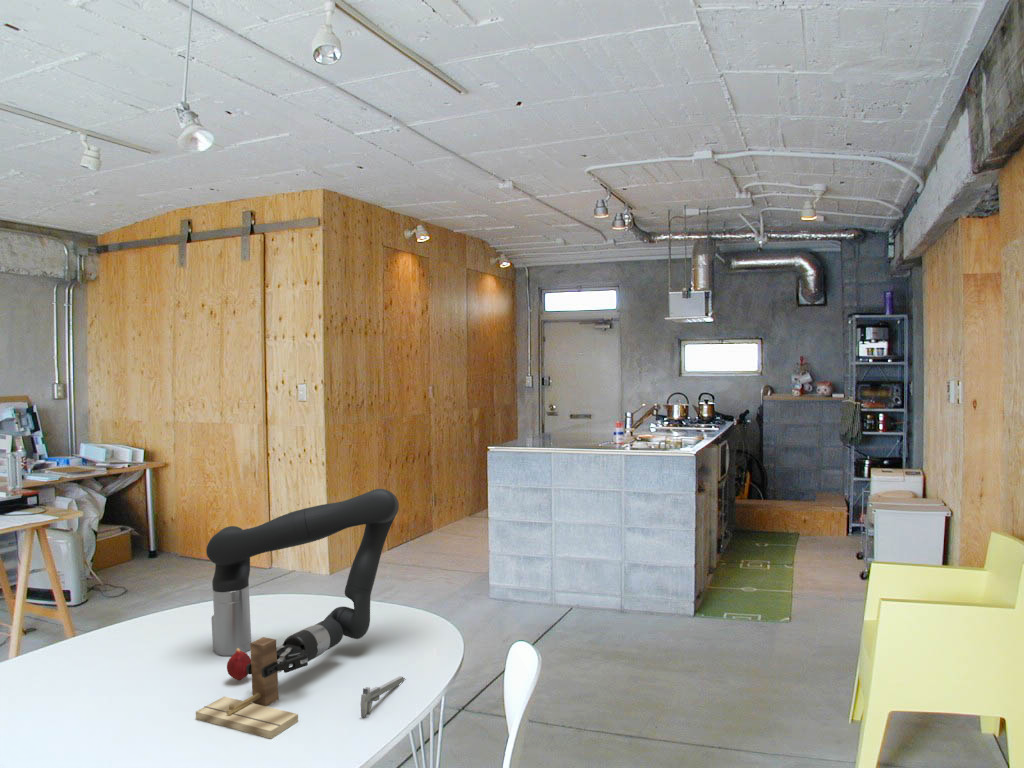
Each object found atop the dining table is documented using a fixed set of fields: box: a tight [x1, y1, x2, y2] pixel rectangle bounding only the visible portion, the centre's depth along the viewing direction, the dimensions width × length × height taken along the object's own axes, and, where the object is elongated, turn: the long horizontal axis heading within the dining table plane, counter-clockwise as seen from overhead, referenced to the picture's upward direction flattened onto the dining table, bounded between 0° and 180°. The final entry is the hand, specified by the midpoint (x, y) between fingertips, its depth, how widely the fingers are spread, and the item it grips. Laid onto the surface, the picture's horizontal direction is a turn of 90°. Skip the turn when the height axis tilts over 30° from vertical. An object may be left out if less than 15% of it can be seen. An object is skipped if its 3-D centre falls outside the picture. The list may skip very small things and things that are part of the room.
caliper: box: [360, 676, 406, 719], centre depth 173 cm, size 20×1×6 cm, turn 163°
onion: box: [226, 648, 251, 682], centre depth 184 cm, size 6×6×8 cm
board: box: [195, 696, 299, 739], centre depth 164 cm, size 22×8×2 cm, turn 64°
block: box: [226, 636, 280, 715], centre depth 169 cm, size 4×13×14 cm, turn 154°
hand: (255, 671), depth 170 cm, fingers closed on block, 4 cm apart
